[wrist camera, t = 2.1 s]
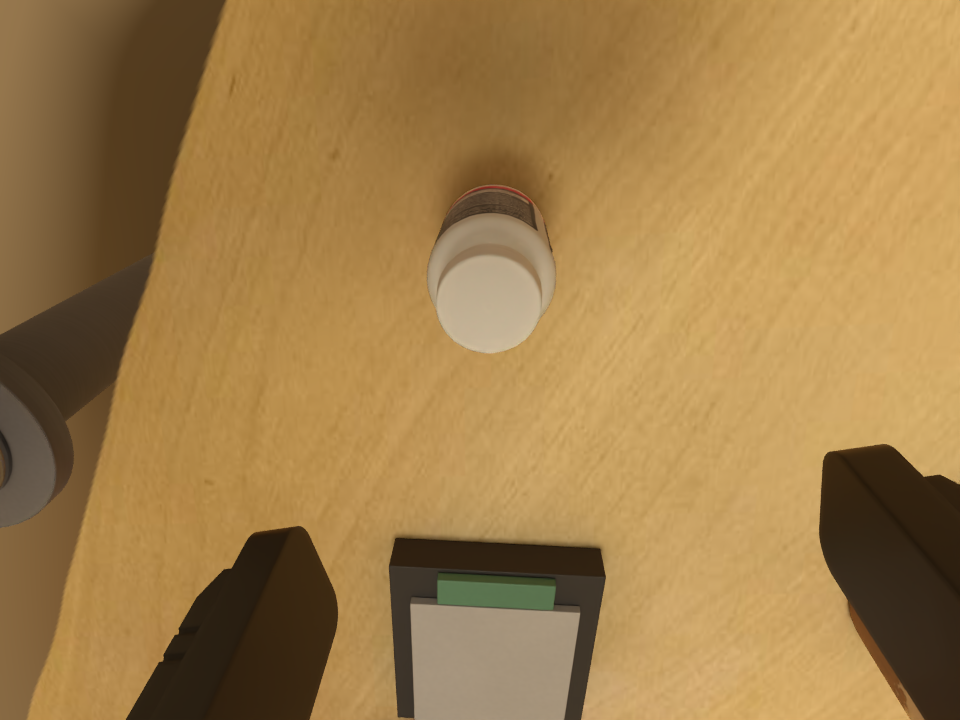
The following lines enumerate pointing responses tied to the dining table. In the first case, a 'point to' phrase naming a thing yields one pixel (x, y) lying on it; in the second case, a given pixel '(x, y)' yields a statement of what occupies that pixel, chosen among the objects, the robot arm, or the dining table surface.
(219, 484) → the dining table surface
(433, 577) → the scale
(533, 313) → the pill bottle
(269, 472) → the dining table surface
